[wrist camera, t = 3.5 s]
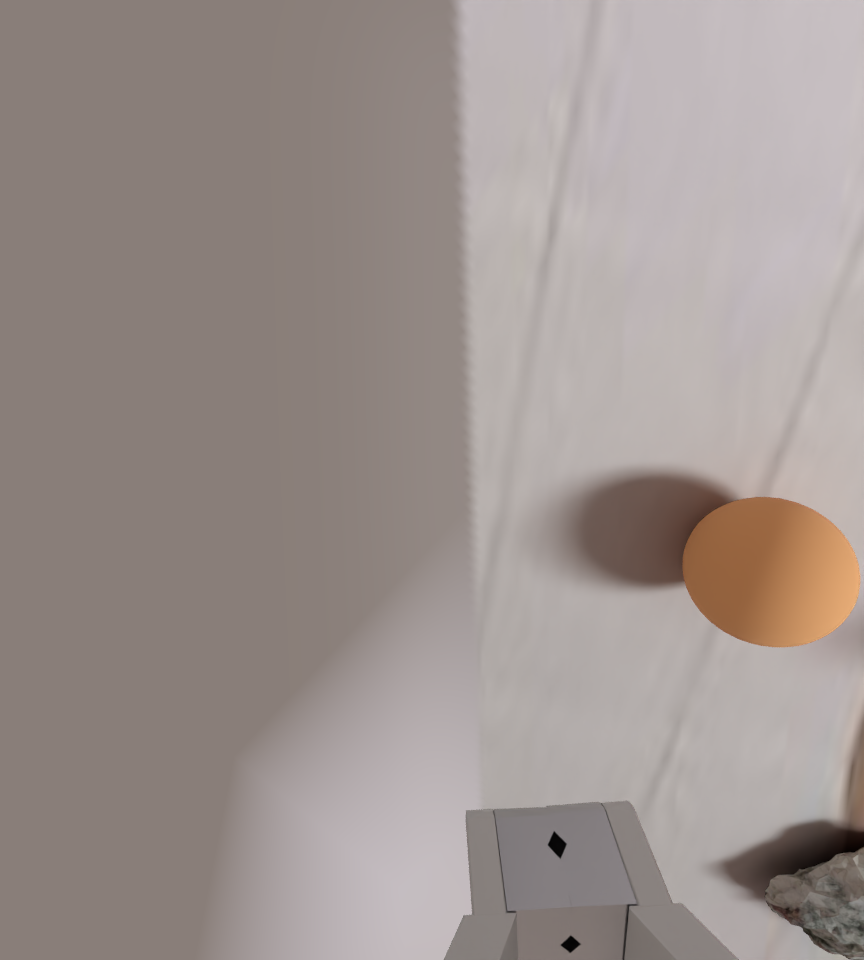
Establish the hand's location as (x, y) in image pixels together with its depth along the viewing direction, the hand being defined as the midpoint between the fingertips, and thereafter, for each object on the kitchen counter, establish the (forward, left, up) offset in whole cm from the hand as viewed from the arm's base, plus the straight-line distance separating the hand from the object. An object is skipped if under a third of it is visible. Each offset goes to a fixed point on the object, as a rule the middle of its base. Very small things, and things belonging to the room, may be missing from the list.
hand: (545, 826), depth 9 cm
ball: (0, -9, -9) cm, 13 cm away
